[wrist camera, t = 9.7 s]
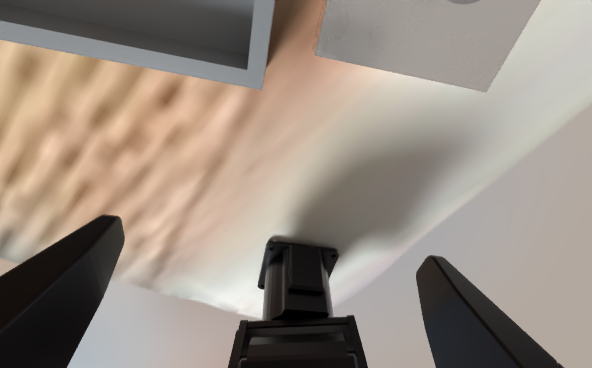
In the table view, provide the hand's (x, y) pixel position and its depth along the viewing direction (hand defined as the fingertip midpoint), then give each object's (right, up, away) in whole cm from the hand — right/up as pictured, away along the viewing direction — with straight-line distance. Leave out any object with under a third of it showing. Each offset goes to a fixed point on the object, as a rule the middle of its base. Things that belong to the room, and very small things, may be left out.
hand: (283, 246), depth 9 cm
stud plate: (+7, +13, +6) cm, 16 cm away
